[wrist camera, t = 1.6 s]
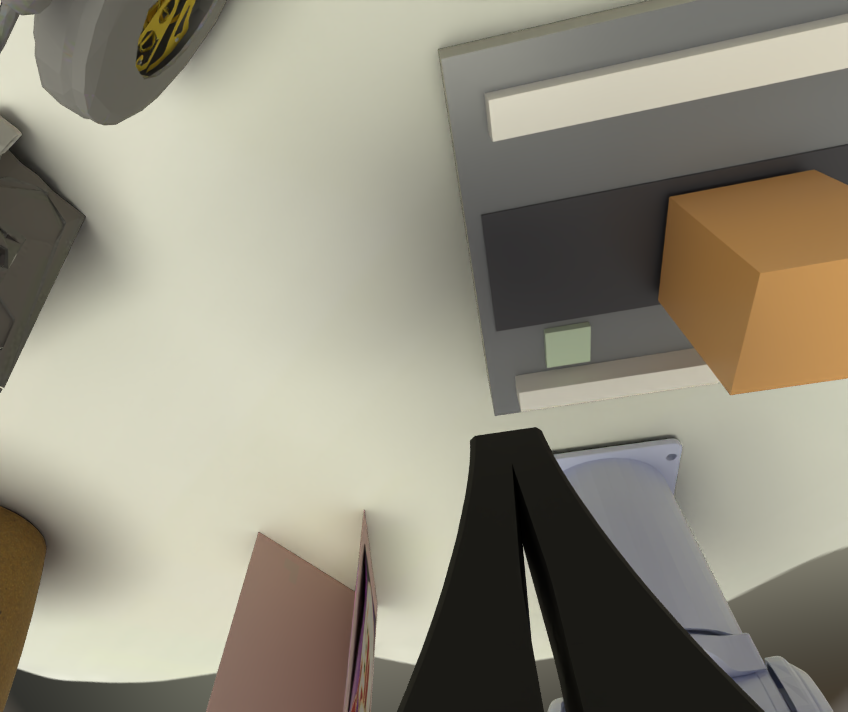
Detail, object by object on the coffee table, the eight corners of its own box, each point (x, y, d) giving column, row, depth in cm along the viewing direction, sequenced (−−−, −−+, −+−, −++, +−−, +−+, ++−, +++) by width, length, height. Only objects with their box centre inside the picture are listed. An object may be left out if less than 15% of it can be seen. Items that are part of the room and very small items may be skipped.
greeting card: (389, 605, 35) (374, 926, 23) (286, 607, 35) (217, 928, 23) (379, 509, 28) (351, 896, 16) (250, 511, 28) (126, 900, 16)
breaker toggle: (783, 279, 16) (896, 371, 12) (657, 300, 16) (729, 395, 13) (814, 169, 14) (964, 238, 10) (669, 196, 14) (760, 273, 11)
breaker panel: (867, 319, 20) (936, 371, 18) (488, 379, 22) (497, 433, 19) (1041, -91, 13) (1210, -112, 10) (438, 49, 14) (442, 64, 12)
